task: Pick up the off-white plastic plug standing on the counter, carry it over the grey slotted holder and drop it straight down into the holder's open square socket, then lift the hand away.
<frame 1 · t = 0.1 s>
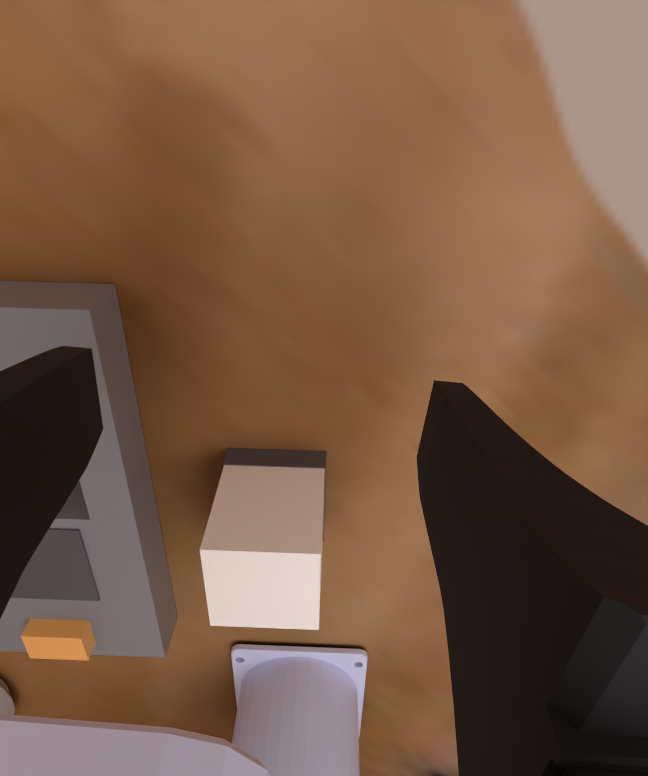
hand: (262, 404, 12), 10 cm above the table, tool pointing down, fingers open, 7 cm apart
plug: (278, 486, 26), on the table
grey slotted holder: (48, 479, 26), on the table
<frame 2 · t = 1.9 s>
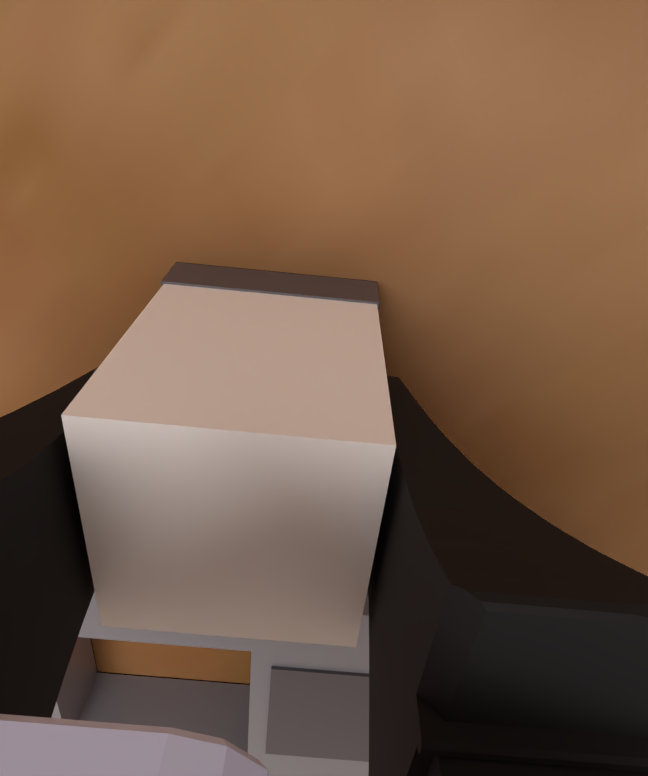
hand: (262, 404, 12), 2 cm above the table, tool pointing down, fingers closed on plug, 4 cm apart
plug: (272, 360, 13), on the table, touching gripper
grey slotted holder: (259, 636, 19), on the table
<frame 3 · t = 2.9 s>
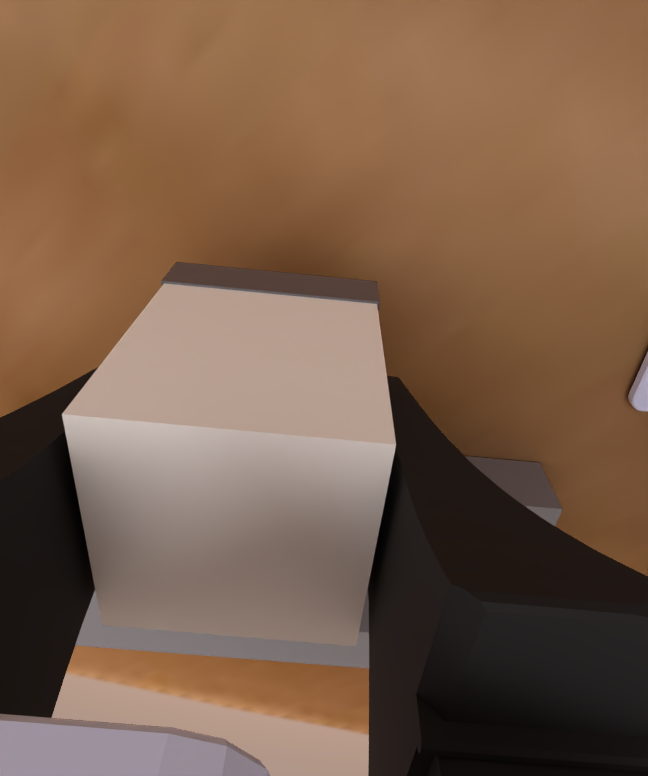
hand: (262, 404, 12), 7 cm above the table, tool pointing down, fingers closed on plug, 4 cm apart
plug: (272, 359, 14), point 5 cm above the table, touching gripper
grey slotted holder: (272, 534, 23), on the table
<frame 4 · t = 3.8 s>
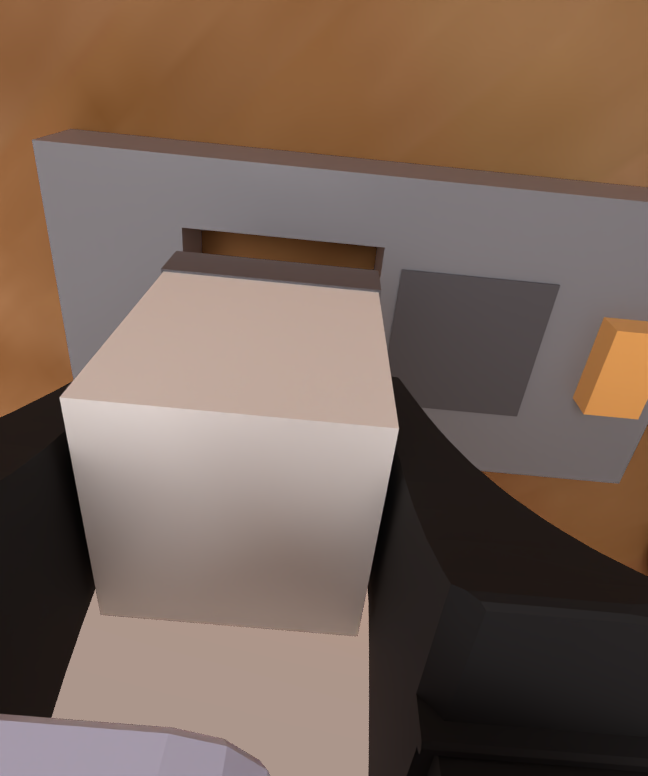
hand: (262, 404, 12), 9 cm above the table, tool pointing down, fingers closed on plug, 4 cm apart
plug: (273, 350, 13), point 7 cm above the table, touching gripper
grey slotted holder: (368, 307, 20), on the table
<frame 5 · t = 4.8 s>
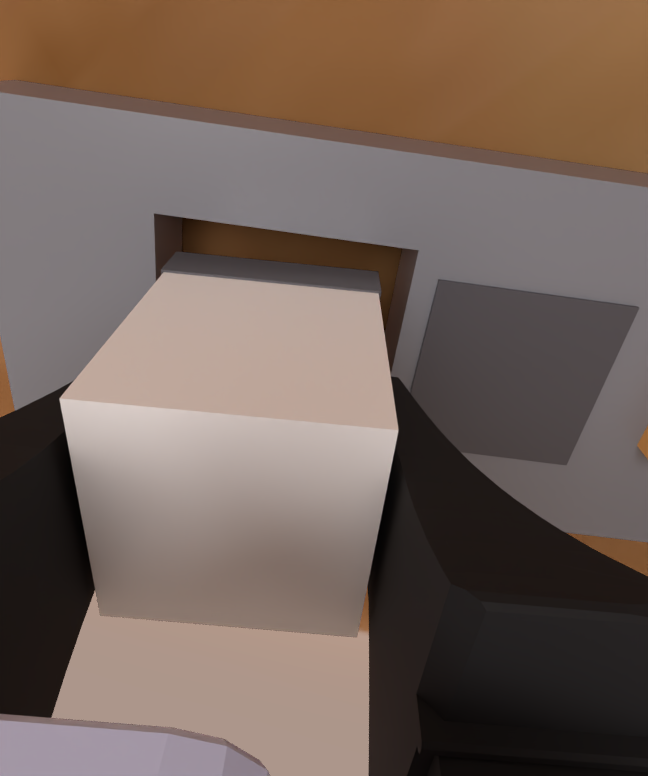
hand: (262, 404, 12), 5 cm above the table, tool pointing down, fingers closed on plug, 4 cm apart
plug: (273, 351, 13), point 3 cm above the table, touching gripper
grey slotted holder: (386, 323, 16), on the table
when the fingers open (3 cm above the table, at t = 5.7 s): plug drops 1 cm, resting in grey slotted holder.
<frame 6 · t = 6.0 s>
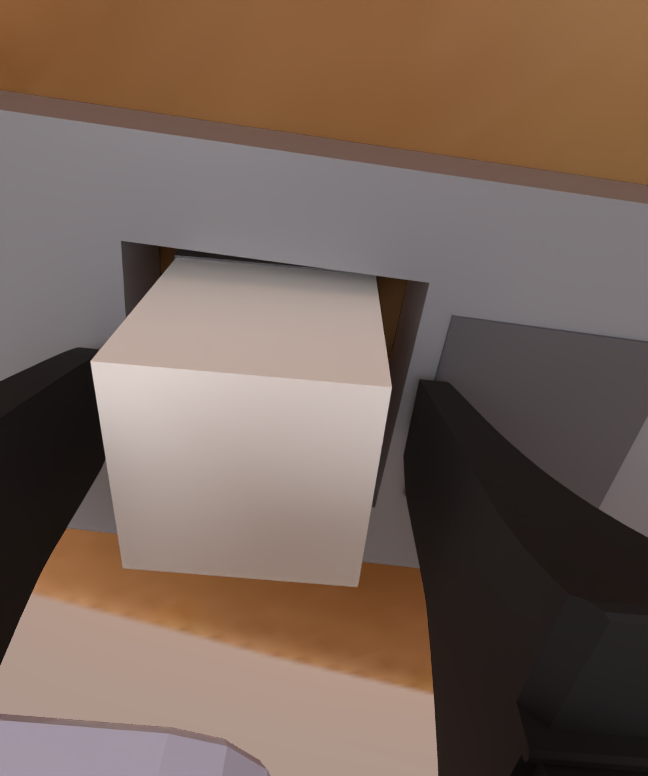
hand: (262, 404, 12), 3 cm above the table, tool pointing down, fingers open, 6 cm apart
plug: (277, 333, 14), resting in grey slotted holder
grey slotted holder: (390, 356, 14), on the table
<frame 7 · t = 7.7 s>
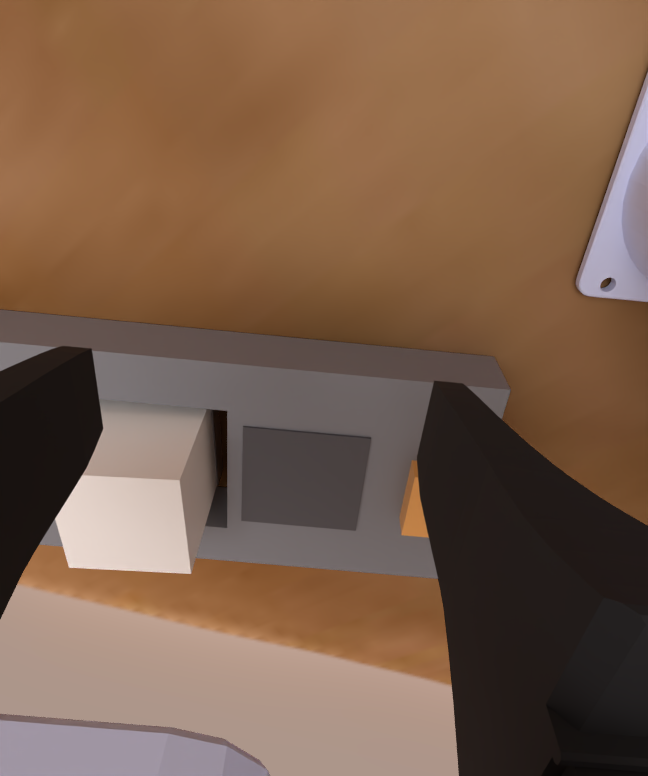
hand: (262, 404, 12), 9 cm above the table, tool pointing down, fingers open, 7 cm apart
plug: (168, 424, 24), resting in grey slotted holder
grey slotted holder: (237, 436, 24), on the table
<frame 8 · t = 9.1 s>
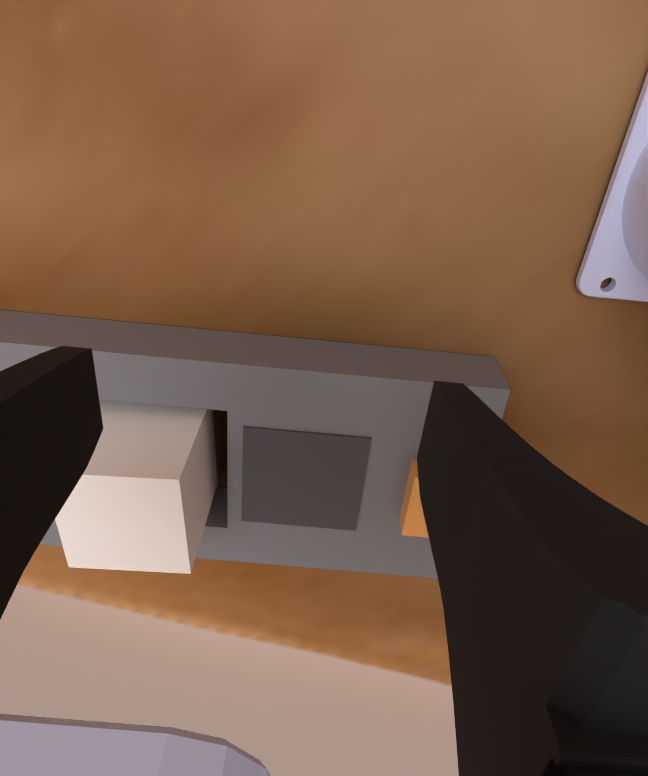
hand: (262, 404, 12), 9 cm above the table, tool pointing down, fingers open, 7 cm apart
plug: (168, 424, 24), resting in grey slotted holder
grey slotted holder: (237, 436, 24), on the table
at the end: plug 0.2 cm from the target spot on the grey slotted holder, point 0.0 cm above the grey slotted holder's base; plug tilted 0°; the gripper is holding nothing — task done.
